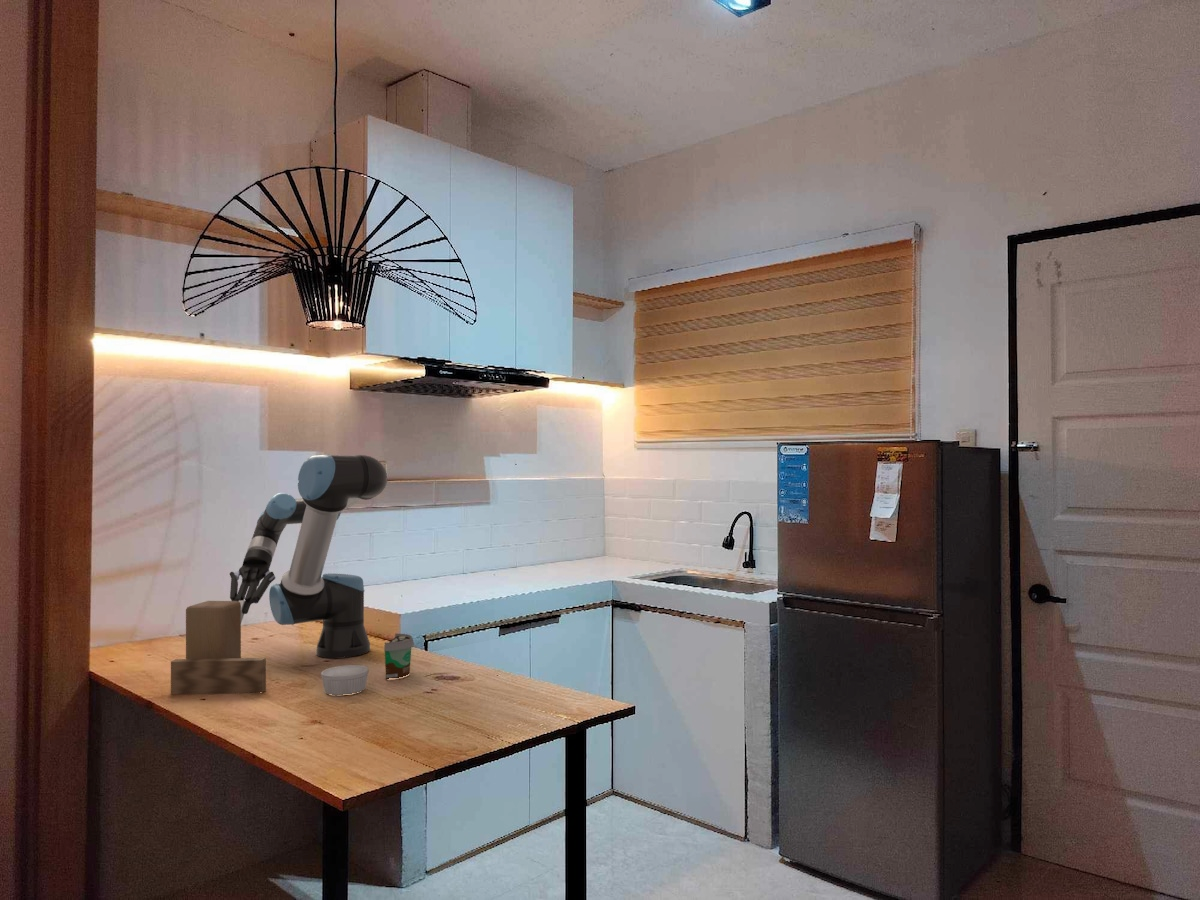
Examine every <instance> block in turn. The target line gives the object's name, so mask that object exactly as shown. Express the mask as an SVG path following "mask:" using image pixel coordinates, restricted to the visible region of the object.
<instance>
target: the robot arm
mask: <svg viewBox="0 0 1200 900" xmlns="http://www.w3.org/2000/svg"><path fill="white" fill-rule="evenodd" d="M297 481H298V483H297V490H298V492H299V495H300V497H301V498H295V497H294V496H293V495H291V494H289V493H288V494H287V493H286V492H278V493H276V494H275V495H273V496H272V497H271V498H270V500H269V501H268V503H267V504H266V507H265V509H264V511H262V512H261V514H260V515H259V517H258V519H257V522H256V526H255V528H254V532H253V535H252V538H251V540H250V542H249V545H248V548H247V550H246V552H245V554H244V558H243V562H242V565H241V567H239V568H238V570H237V571H235V572H234V571H230V572H229V577H230V591H229V592H230V594H229V599H230V601H238V602H240V604H241V623H242V622H243V619H244V616H245V615H247V614H248V613H249V610H250V607H251V605H252V604H258V603H259V602H260V600H261V599H262V597H263V595H264V594H265V592H266V591H267V589H268V587H269V586H270V584H272V582H273V581H274V580H276V576H275V573H274V571H270V567H271V564H272V561H273V558H274V555H275V552H276V548H277V545H278V543H279V540H280V537H281V535H282V533H283V531H284V530H285V528H286V526H288V525H294V524H295V525H297V524H301V525H300V529H299V534H298V536H297V539H296V540H297V541H296V543H295V544H296V545H295V549H294V552H293V555H292V560H291V563H290V566H289V567H290V568H289V570H288V571H286V572H284V574H282V577H281V579H280V583H275V584H273V585H271V587H270V588H269V598H268V599H269V606H270V611H271V614H272V616H273V618H274V620H275V622H276V623H277V624H278V625H281V626H289V625H292V626H294V625H297V624H303V623H309V622H311V623H312V622H316V621H317V622H318V621H322V629H321V632H320V635H319V638H318V642H317V644H316V656H318V657H320V658H329V659H343V658H342V657H345V658H352V657H351V656H353V657H357V656H356V655H359V656H362V655H361V654H363V655H365V654H364V653H366V654H368V653H369V652H370V651H371V643H370V639H369V636H368V633H367V631H366V628H365V619H364V618H365V617H364V615H365V613H364V612H365V589H364V588H365V586H364V579H363V578H362V577H361V576H359V575H355V574H346V573H324V574H323V570H324V568H325V563H326V560H327V556H328V553H329V550H330V545H331V542H332V539H333V534H334V531H335V528H336V524H337V521H338V520H339V518H340V516H341V513H342V512H343V511H345V510H346V509H348V508H351V506H354V505H355V504H357V503H359V502H360V501H367V500H372V499H374V498H376V497H377V496H379V495H380V494H381V493H383V491H384V490H385V489H386V486H387V484H388V473H387V470H386V469H385V466H384V465H383V464H382V463H381V462H380V461H379V460H378V459H376V458H374V457H373V456H369V455H365V454H349V455H348V454H346V455H345V454H341V455H339V454H337V455H335V454H334V455H333V454H332V455H330V454H325V453H324V454H321V455H312V456H310V457H308V458H306V459H305V460H304V461H303V463H302V465H301V466H300V469H299V472H298V476H297ZM240 577H241V582H240V586H239V579H240ZM368 651H369V652H368ZM367 652H368V653H367Z"/></svg>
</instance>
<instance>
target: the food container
mask: <svg viewBox="0 0 1200 900" xmlns="http://www.w3.org/2000/svg"><path fill="white" fill-rule="evenodd" d="M412 637H413V636H412V635H411V634H408V633H395V634H394V638H393V639H392V638H391V639H390V640H389V642H384V647H383V648H384V649H383V650H384V663H385V664H384V666H385V680H386V679H389V678H399V677H403V676H406V675H408V674H409V673H410V672H411V662H412V661H411V658H412V648H413V646H414V645H415V642H414V639H413V638H412Z"/></svg>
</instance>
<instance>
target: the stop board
mask: <svg viewBox="0 0 1200 900" xmlns="http://www.w3.org/2000/svg"><path fill="white" fill-rule="evenodd" d="M265 690H267V657H244V658H243V657H241V658H226V659H186V658H177V659H174V660H172V661H170V695H171V694H178V695H218V694H219V695H220V694H221V695H222V694H223V695H224V694H225V695H226V694H227V695H228V694H229V695H230V694H231V695H232V694H237V695H238V693H239V694H261V693H260V692H263V691H264V692H266V691H265ZM264 692H263V693H264Z"/></svg>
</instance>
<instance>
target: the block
mask: <svg viewBox="0 0 1200 900" xmlns="http://www.w3.org/2000/svg"><path fill="white" fill-rule="evenodd" d="M241 635H242V622H241V604H240V602H238V601H231V600H206V601H203V602H199V603H196V604H193V605H192V604H191V605H190V606H187V607H186V609H185V659H226V658H242V636H241Z"/></svg>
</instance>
